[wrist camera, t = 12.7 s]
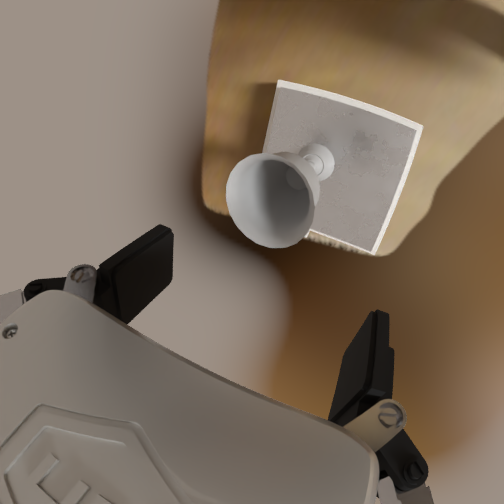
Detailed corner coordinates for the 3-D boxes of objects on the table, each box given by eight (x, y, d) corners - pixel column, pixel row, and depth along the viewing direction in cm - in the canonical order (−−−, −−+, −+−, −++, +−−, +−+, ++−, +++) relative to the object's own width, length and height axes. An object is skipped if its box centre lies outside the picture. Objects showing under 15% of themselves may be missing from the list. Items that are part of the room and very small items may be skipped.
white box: (409, 128, 33) (416, 130, 28) (364, 250, 44) (363, 268, 39) (291, 90, 36) (280, 86, 32) (263, 212, 48) (250, 225, 43)
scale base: (416, 124, 32) (424, 126, 28) (371, 246, 44) (371, 263, 39) (287, 83, 37) (276, 79, 32) (260, 205, 48) (247, 216, 43)
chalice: (348, 183, 34) (326, 240, 20) (300, 194, 38) (245, 254, 23) (331, 129, 32) (295, 140, 17) (282, 143, 35) (212, 168, 21)
